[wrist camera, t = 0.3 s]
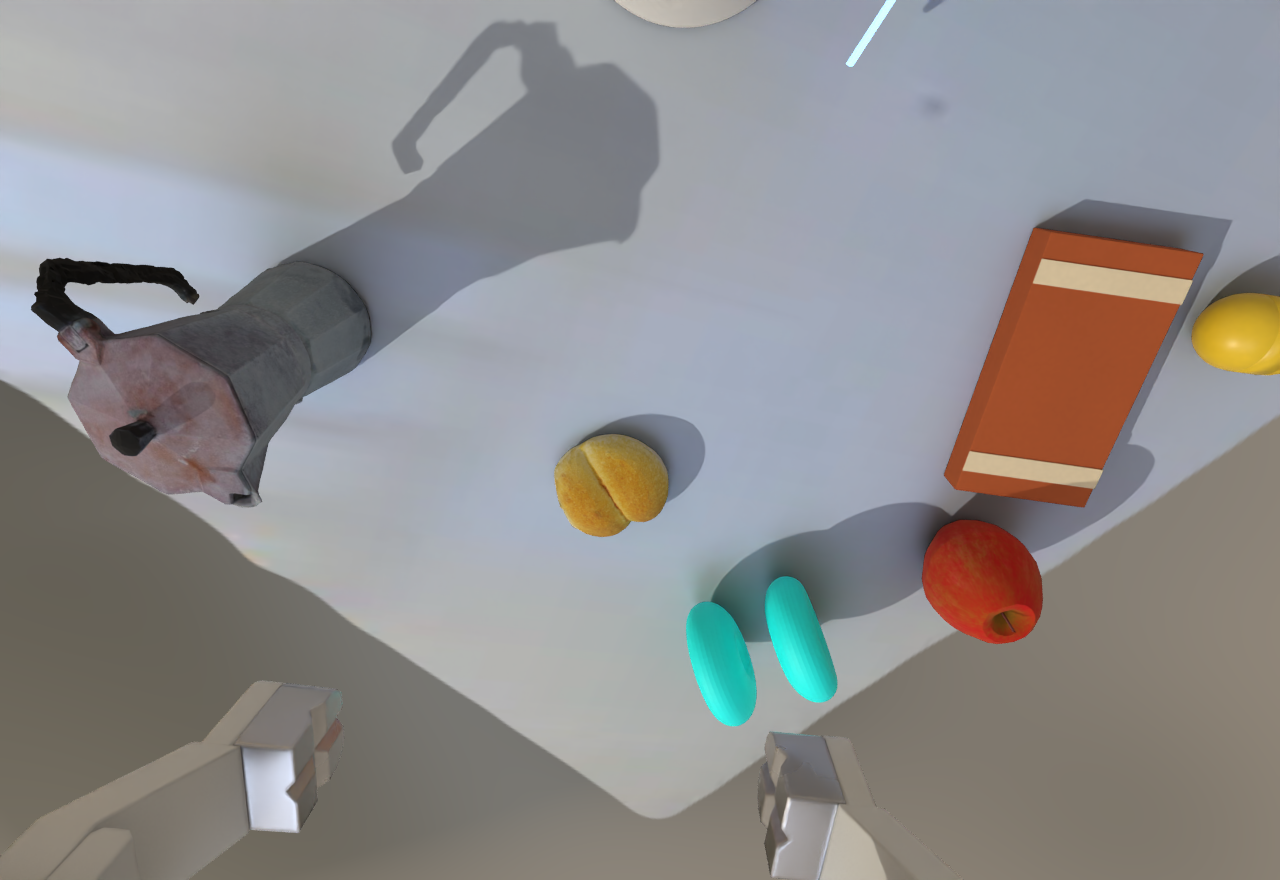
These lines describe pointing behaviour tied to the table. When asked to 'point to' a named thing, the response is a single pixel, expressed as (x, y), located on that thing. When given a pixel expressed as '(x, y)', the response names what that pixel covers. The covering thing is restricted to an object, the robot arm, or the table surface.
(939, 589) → the apple
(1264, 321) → the lemon
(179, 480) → the moka pot
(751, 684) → the donuts
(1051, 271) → the tea towel
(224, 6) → the table surface
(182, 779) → the robot arm
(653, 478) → the bread roll
